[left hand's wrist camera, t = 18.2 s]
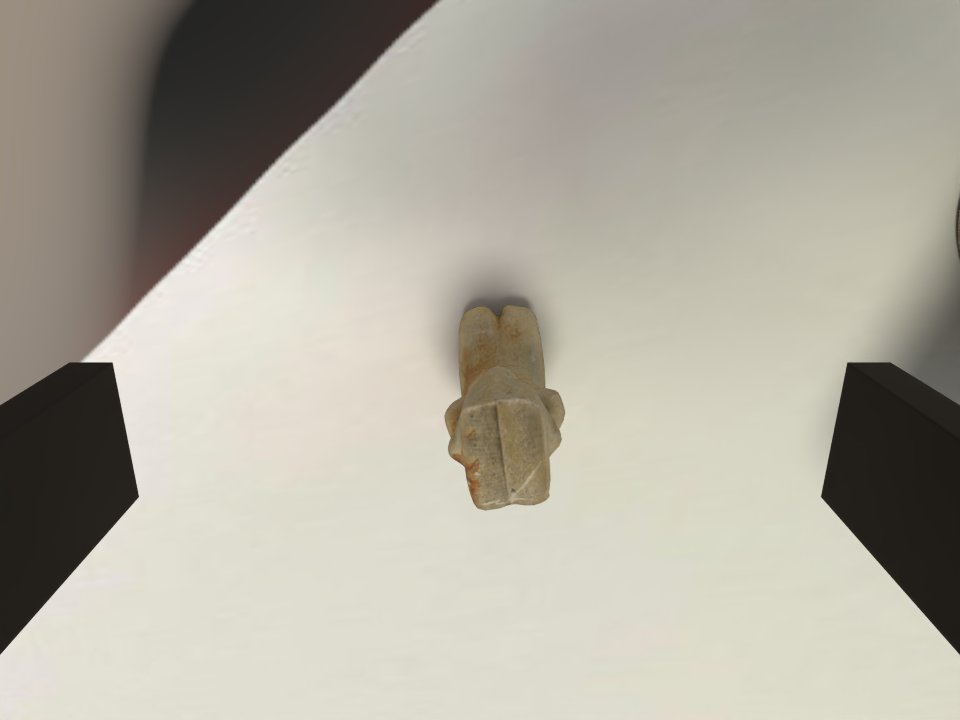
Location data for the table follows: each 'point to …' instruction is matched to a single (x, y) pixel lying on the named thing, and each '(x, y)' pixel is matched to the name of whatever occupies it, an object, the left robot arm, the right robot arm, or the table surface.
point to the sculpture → (504, 409)
